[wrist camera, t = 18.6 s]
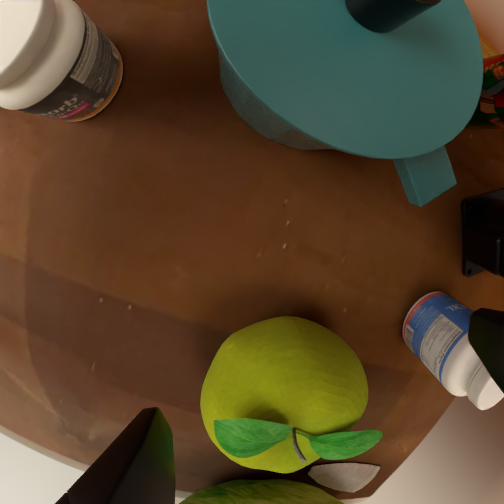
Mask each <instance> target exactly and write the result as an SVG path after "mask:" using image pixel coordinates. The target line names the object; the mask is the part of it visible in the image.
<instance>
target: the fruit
mask: <svg viewBox="0 0 504 504" xmlns="http://www.w3.org/2000/svg"><path fill="white" fill-rule="evenodd" d="M367 401H368V384H367V379H366V374H365V372H364V369H363V366H362V364H361V362H360V360H359V358H358V357H357V355H356V353H355V352H354V351H353V349H352V348H351V347H350V346H349V345H348V344H347V343H346V342H345V341H344V340H343V339H342V338H341V337H339V336H338V335H336V334H335V333H334V332H332V331H331V330H329V329H327V328H325V327H323V326H321V325H319V324H317V323H315V322H312V321H310V320H307V319H303V318H299V317H293V316H282V317H275V318H271V319H267V320H263V321H260V322H257V323H254V324H252V325H249V326H247V327H245V328H243V329H240V330H238V331H237V332H235V333H233V334H232V335H231V336H230V337H228V338H227V339H226V340H225V341H224V343H223V344H222V345H221V347H220V348H219V350H218V352H217V354H216V356H215V358H214V360H213V362H212V364H211V366H210V368H209V370H208V372H207V375H206V377H205V380H204V383H203V387H202V391H201V414H202V418H203V422H204V425H205V428H206V430H207V432H208V434H209V436H210V438H211V440H212V441H213V442H214V444H215V445H216V446H217V447H218V448H219V450H220V451H221V452H222V453H224V454H225V455H226V456H227V457H228V458H230V459H231V460H233V461H234V462H236V463H238V464H240V465H242V466H245V467H248V468H253V469H262V470H269V471H273V472H278V473H291V472H295V471H297V470H299V469H302V468H304V467H305V466H307V465H309V464H310V463H312V462H314V461H316V460H317V459H319V458H320V457H321V458H324V459H328V460H339V459H346V458H351V457H354V456H357V455H360V454H361V453H363V452H365V451H367V450H369V449H370V448H371V447H373V446H374V445H375V444H376V443H378V442H379V441H380V439H381V438H382V435H383V434H382V432H380V431H377V430H366V431H356V432H352V430H353V429H354V427H355V425H356V424H357V422H358V421H359V419H360V418H361V416H362V414H363V413H364V411H365V408H366V405H367Z"/></svg>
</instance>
